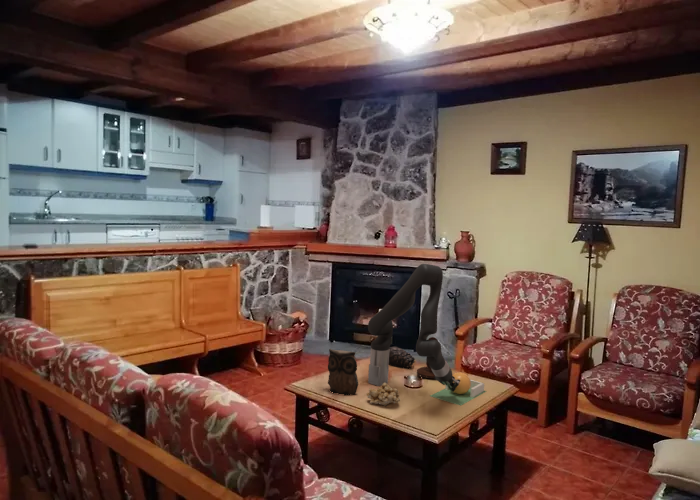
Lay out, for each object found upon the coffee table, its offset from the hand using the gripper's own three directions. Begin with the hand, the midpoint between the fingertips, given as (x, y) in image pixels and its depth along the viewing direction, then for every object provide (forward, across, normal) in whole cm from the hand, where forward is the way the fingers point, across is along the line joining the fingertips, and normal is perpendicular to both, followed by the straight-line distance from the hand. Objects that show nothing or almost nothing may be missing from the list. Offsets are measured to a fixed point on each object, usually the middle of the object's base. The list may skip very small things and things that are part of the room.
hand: (453, 389), depth 239 cm
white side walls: (+11, 0, -6) cm, 12 cm away
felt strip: (+7, 0, -1) cm, 7 cm away
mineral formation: (-18, +17, +24) cm, 34 cm away
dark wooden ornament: (+16, +23, -10) cm, 30 cm away
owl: (-19, +40, +24) cm, 50 cm away
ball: (+3, 0, -5) cm, 6 cm away
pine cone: (+19, +45, -13) cm, 50 cm away
